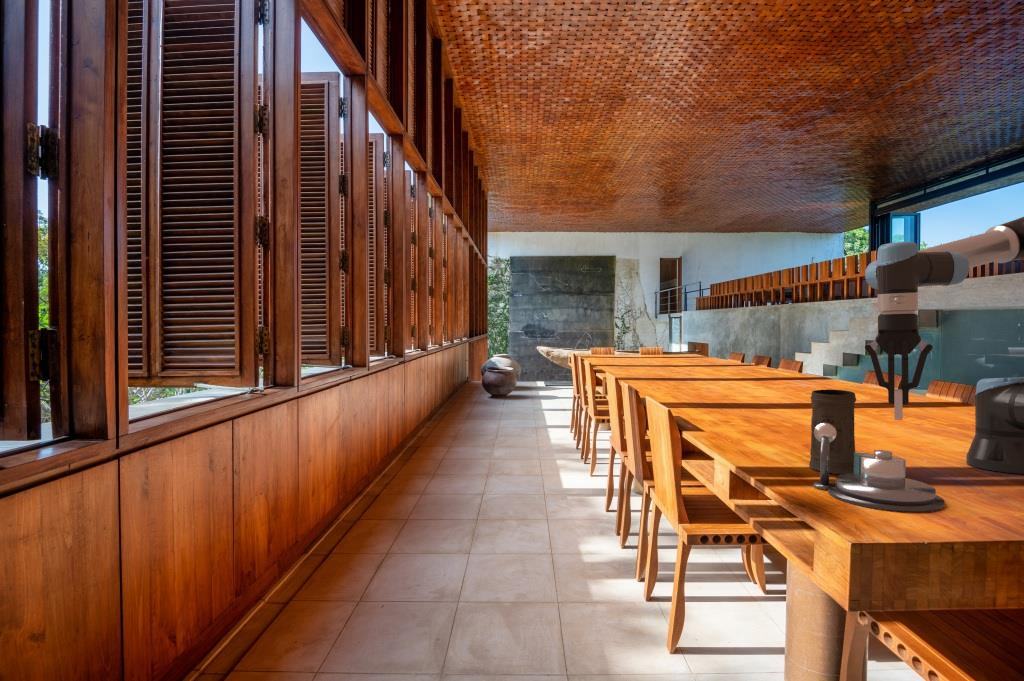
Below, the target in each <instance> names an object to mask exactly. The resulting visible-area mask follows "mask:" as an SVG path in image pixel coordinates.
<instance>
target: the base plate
mask: <svg viewBox="0 0 1024 681" xmlns="http://www.w3.org/2000/svg"><path fill="white" fill-rule="evenodd" d="M831 483H832V484H835V485H834V486H835V487H834V486H833V485H832V484H831V487H830V485H829V486H828V491H827V493H828V494H829V495H830V496H831V497H832V498H835V499H836V500H839V501H841V502H845V503H848V504H850V505H854V506H859V507H864V508H867V509H872V508H873V509H874V510H878V509H879V511H885V510H886V511H887V512H893V511H897V512H896V513H906V512H926V513H932V512H931V511H935V512H937V511H936V510H939V511H941V510H940V509H942V508H943V509H944V508H945V507H944V506H945V503H946V502H945V500H944V498H943V497H941V496H939V495H937V494H936V501H935V502H934V503H932V504H929V505H922V506H900V505H889V504H881V503H875V502H869V501H864V500H860V499H856V498H853V497H849V496H847V495H844V494H842V493H840V492H838V491H837V490H836V482H831ZM943 509H942V510H943ZM886 511H885V512H886Z"/></svg>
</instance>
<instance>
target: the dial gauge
mask: <svg viewBox="0 0 1024 681" xmlns="http://www.w3.org/2000/svg"><path fill="white" fill-rule="evenodd" d="M814 435H815V437H816V439H817V440H818V441H820V442H821V447H820V471H819V481H816V482H815V481H814V482H813V488H814V487H815V488H814V489H816V488H817V490H819V489H820V491H827V492H828V486H829V485H830V487H831V484H832V483H833V482H830V474H829V452H830V442H832V441H833V440H834V439H835V438H836V435H837V432H836V429H835V428H834V426H833V425H831V424H829V423H821V424H819V425H817V426H816V427H815V429H814ZM832 485H833V486H834V485H835V484H832ZM834 487H835V486H834Z"/></svg>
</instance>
